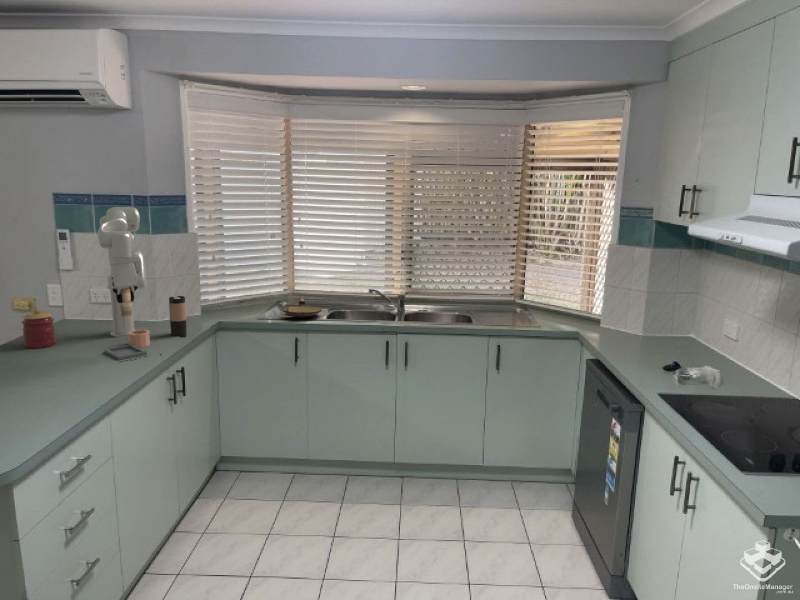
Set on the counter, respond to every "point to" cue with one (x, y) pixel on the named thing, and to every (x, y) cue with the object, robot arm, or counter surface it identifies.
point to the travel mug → (177, 316)
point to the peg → (126, 302)
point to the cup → (139, 338)
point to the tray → (125, 352)
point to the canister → (38, 329)
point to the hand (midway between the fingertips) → (125, 301)
